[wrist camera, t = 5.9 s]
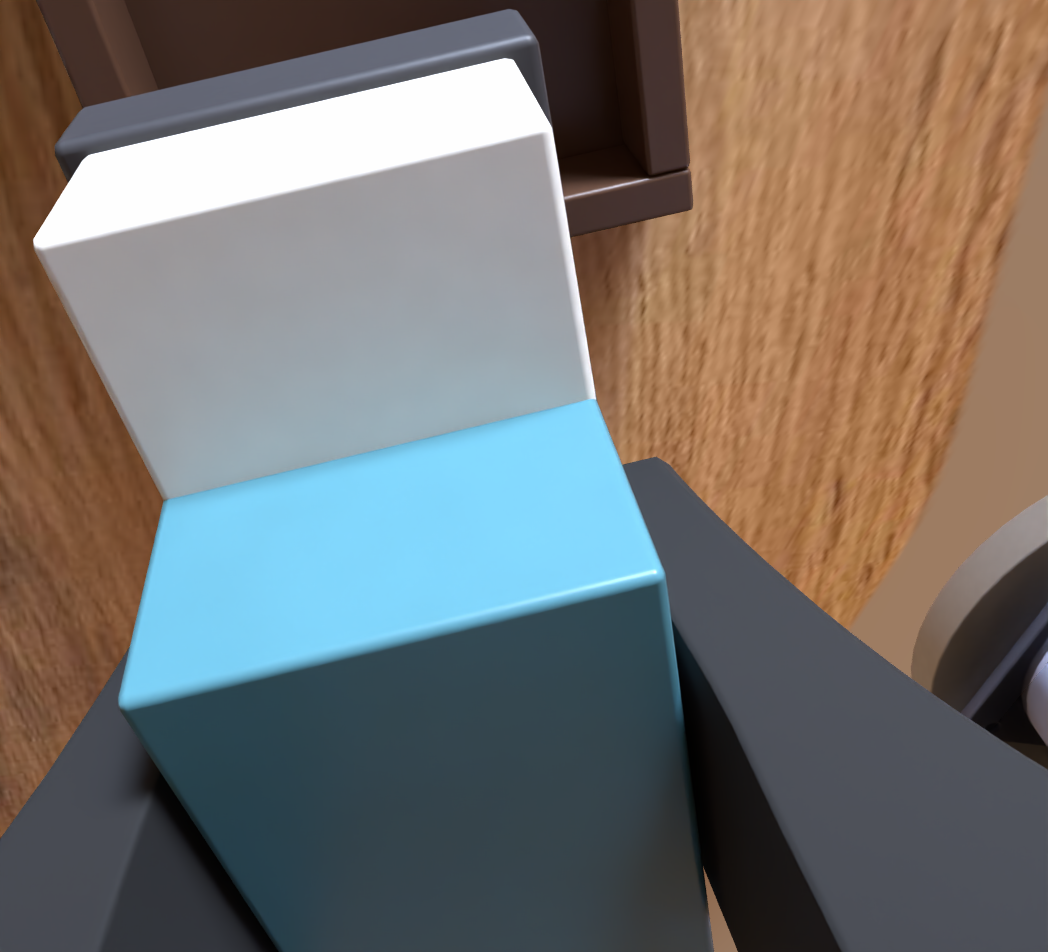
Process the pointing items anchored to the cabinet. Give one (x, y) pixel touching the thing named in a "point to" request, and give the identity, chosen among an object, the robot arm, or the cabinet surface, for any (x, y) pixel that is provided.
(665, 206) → the long brown tray
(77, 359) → the cabinet surface
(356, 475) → the toy truck block
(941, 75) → the cabinet surface
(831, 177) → the cabinet surface
